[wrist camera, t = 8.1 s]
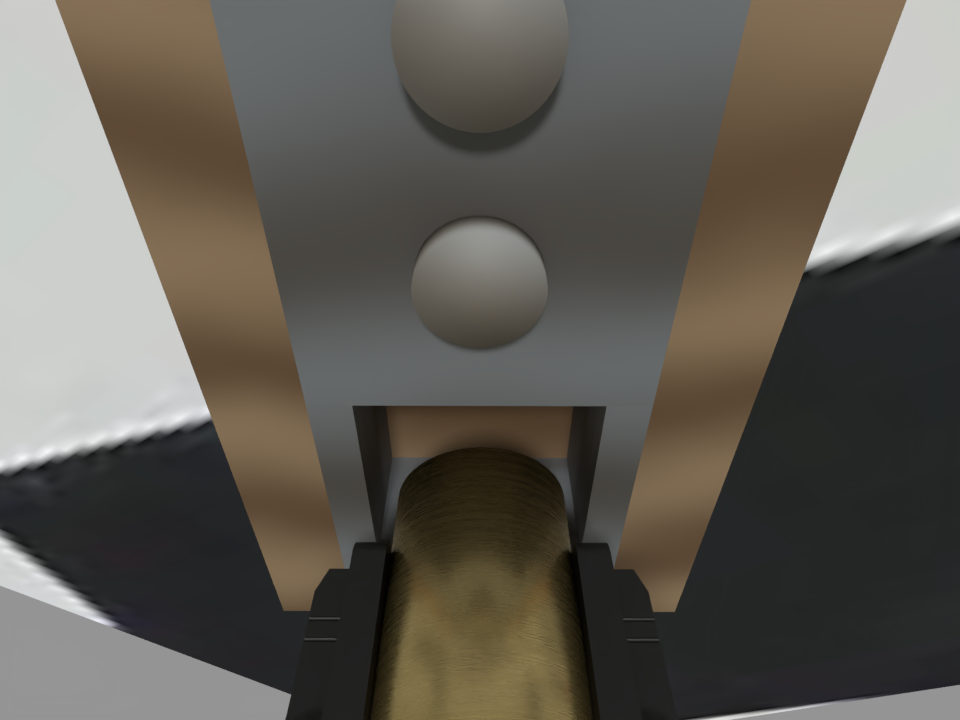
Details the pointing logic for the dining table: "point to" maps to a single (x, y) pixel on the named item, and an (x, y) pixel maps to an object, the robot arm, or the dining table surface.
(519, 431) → the board
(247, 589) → the dining table surface
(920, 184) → the dining table surface
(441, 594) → the pin
